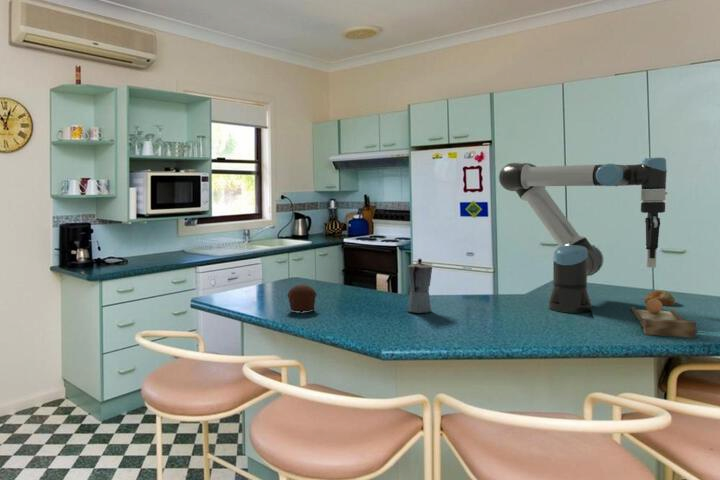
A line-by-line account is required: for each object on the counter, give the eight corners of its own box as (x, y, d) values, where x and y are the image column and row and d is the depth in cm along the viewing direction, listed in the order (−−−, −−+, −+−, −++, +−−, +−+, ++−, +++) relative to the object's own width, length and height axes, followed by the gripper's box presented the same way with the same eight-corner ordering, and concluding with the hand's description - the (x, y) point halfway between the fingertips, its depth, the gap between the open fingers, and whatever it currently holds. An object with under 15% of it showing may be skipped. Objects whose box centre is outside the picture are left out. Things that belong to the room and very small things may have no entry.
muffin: (323, 309, 195) (322, 284, 194) (305, 315, 185) (304, 289, 185) (300, 306, 201) (299, 282, 200) (281, 312, 192) (280, 286, 191)
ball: (647, 314, 172) (647, 300, 171) (644, 311, 176) (644, 297, 176) (663, 315, 170) (664, 300, 169) (660, 311, 174) (661, 297, 174)
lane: (645, 334, 152) (645, 320, 152) (631, 312, 179) (631, 300, 179) (695, 337, 148) (695, 323, 147) (672, 315, 174) (673, 302, 174)
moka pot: (434, 307, 194) (434, 256, 192) (429, 317, 179) (429, 262, 177) (410, 306, 196) (409, 256, 195) (403, 316, 182) (402, 262, 180)
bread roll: (674, 319, 183) (685, 300, 181) (647, 306, 184) (657, 287, 183) (663, 312, 193) (674, 294, 191) (637, 301, 194) (648, 283, 193)
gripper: (669, 201, 169) (667, 270, 172) (661, 200, 182) (659, 264, 184) (644, 202, 172) (642, 269, 174) (638, 201, 184) (636, 264, 186)
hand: (651, 266), depth 179 cm, fingers closed
